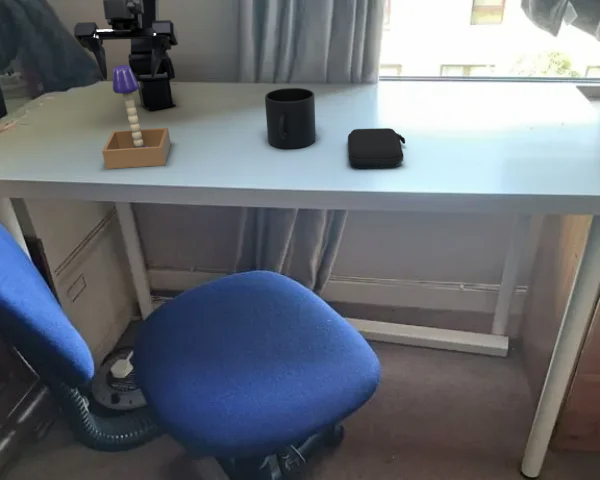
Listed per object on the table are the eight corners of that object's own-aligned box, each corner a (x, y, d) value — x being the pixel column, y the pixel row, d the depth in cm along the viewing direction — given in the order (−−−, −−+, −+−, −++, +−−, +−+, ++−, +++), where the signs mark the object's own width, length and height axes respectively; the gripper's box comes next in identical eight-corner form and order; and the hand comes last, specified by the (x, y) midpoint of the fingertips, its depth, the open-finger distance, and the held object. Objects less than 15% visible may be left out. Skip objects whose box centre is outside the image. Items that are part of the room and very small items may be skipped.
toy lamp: (146, 161, 117) (129, 70, 108) (123, 160, 118) (104, 70, 109) (155, 152, 121) (139, 63, 112) (133, 151, 122) (115, 63, 113)
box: (116, 148, 124) (112, 131, 122) (170, 144, 124) (168, 127, 122) (106, 169, 115) (102, 151, 113) (165, 165, 115) (161, 147, 113)
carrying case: (409, 170, 109) (402, 140, 121) (410, 153, 107) (403, 125, 119) (348, 171, 110) (347, 141, 122) (348, 154, 108) (347, 126, 120)
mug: (258, 153, 119) (254, 105, 113) (275, 131, 128) (272, 86, 123) (306, 155, 117) (304, 107, 111) (320, 133, 126) (319, 88, 121)
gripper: (62, -23, 112) (66, 64, 112) (166, -25, 113) (170, 61, 113) (81, 6, 123) (85, 85, 123) (176, 4, 124) (180, 82, 124)
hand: (129, 78), depth 121 cm, fingers open, 9 cm apart
